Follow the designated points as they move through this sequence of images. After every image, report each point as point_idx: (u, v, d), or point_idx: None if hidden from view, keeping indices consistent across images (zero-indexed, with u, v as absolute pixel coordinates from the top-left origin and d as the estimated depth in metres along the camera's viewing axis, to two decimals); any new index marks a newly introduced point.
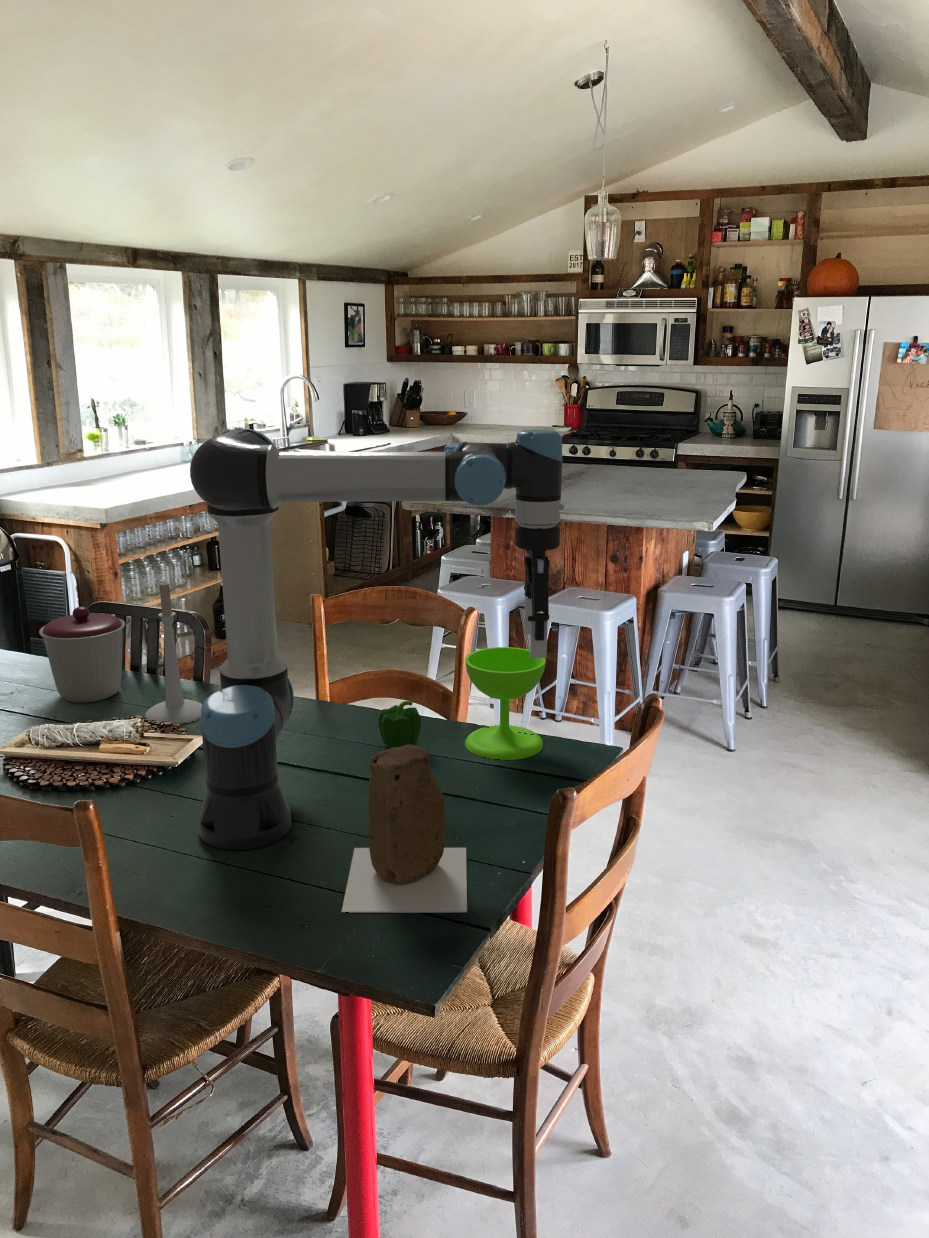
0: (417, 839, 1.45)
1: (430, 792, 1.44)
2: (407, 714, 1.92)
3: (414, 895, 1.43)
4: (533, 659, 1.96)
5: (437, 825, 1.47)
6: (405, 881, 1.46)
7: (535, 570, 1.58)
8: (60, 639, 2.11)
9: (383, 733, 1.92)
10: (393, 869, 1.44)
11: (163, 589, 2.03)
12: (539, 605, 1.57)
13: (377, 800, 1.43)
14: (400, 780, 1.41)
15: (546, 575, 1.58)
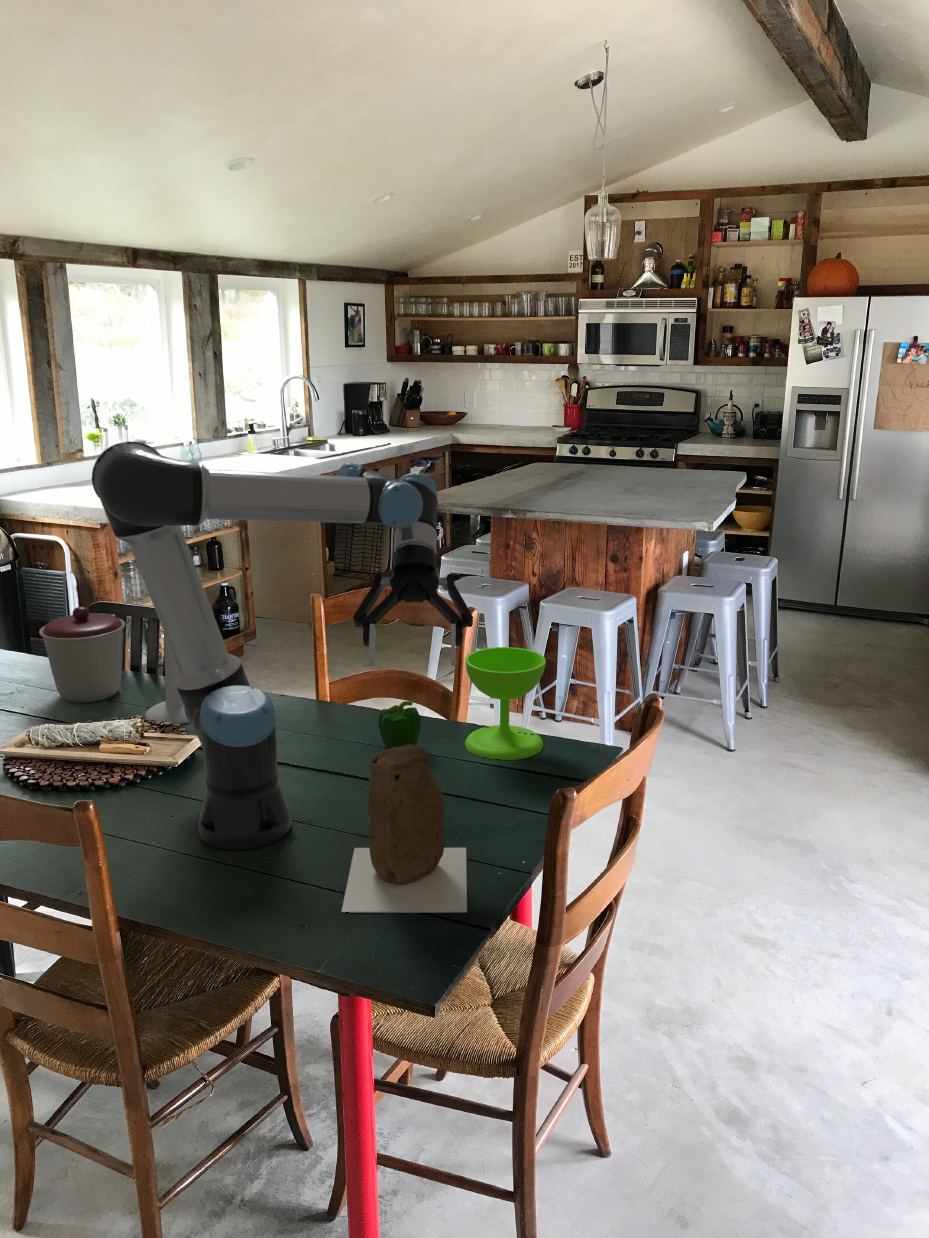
0: (417, 839, 1.45)
1: (430, 792, 1.44)
2: (407, 714, 1.92)
3: (414, 895, 1.43)
4: (533, 659, 1.96)
5: (437, 825, 1.47)
6: (405, 881, 1.46)
7: None
8: (60, 639, 2.11)
9: (383, 733, 1.92)
10: (393, 869, 1.44)
11: None
12: None
13: (377, 800, 1.43)
14: (400, 780, 1.41)
15: None
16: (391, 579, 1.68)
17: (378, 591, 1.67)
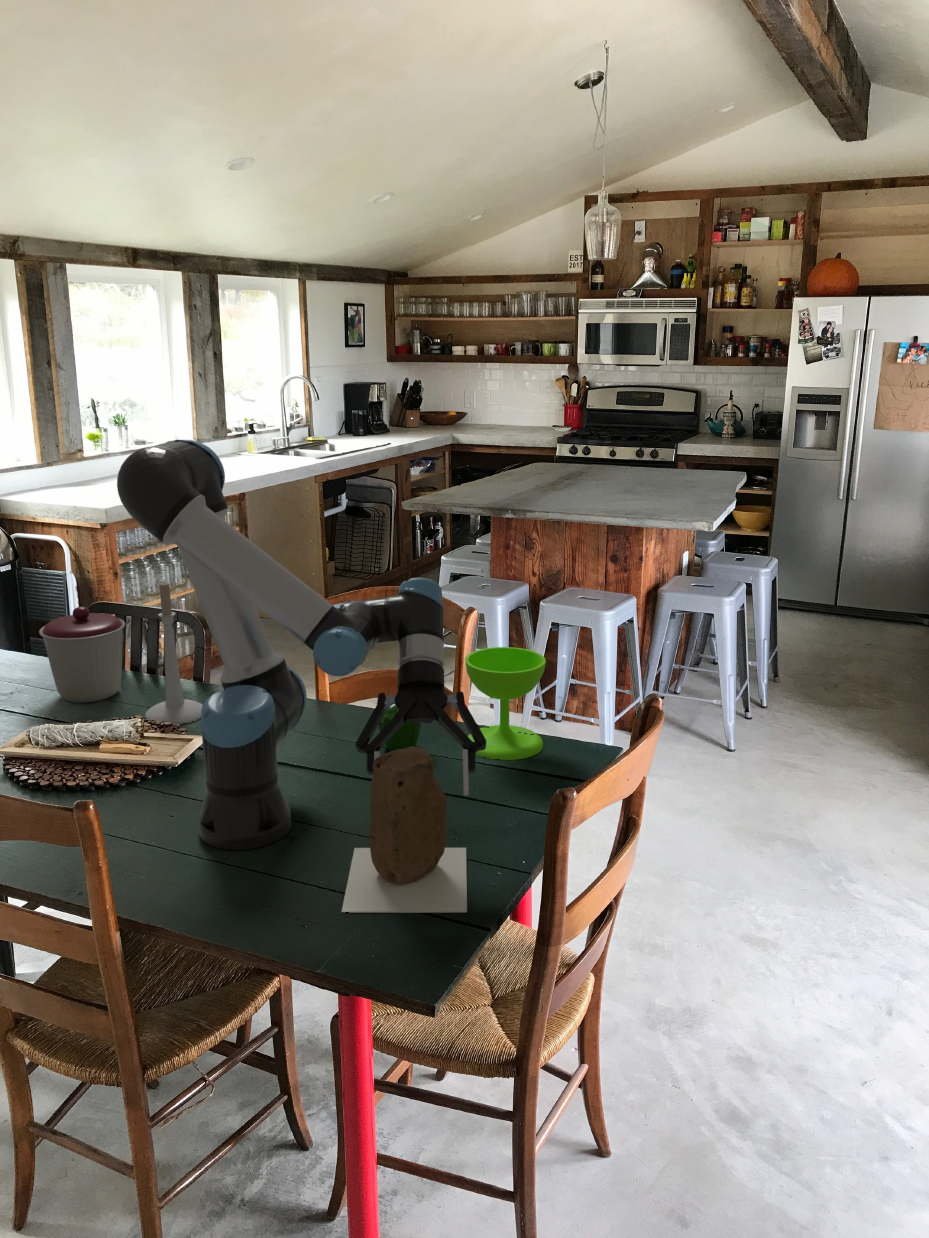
0: (419, 842, 1.44)
1: (433, 796, 1.43)
2: None
3: (414, 895, 1.43)
4: (533, 659, 1.96)
5: (439, 828, 1.46)
6: (405, 881, 1.46)
7: None
8: (60, 639, 2.11)
9: None
10: (394, 871, 1.44)
11: (163, 589, 2.03)
12: None
13: (379, 803, 1.42)
14: (403, 786, 1.39)
15: None
16: (396, 698, 1.55)
17: (382, 712, 1.54)
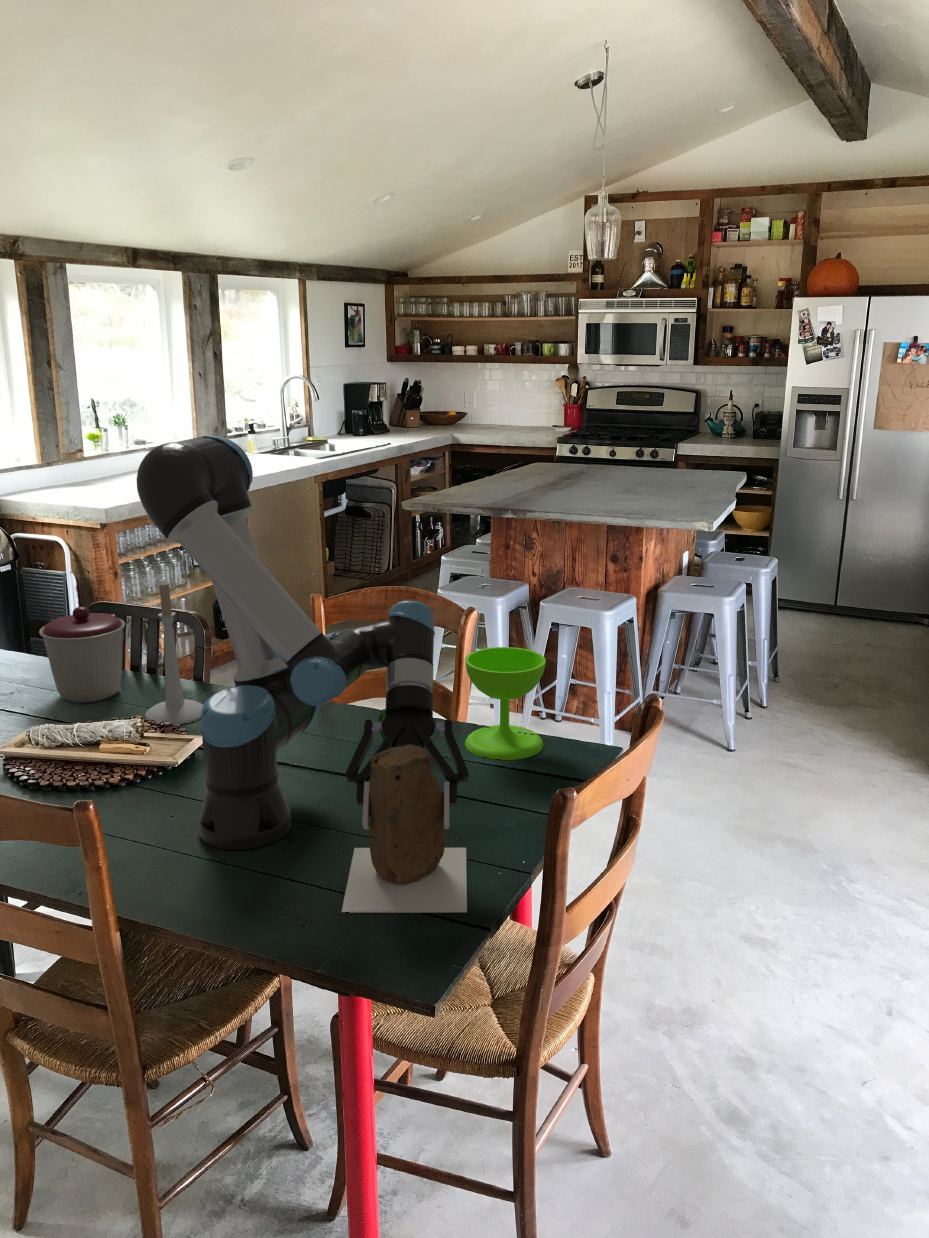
0: (418, 840, 1.45)
1: (431, 792, 1.44)
2: None
3: (414, 895, 1.43)
4: (533, 659, 1.96)
5: (438, 826, 1.46)
6: (405, 881, 1.46)
7: None
8: (60, 639, 2.11)
9: (383, 733, 1.92)
10: (393, 869, 1.44)
11: (162, 589, 2.03)
12: None
13: (378, 800, 1.43)
14: (401, 780, 1.41)
15: None
16: (383, 724, 1.52)
17: (370, 739, 1.51)
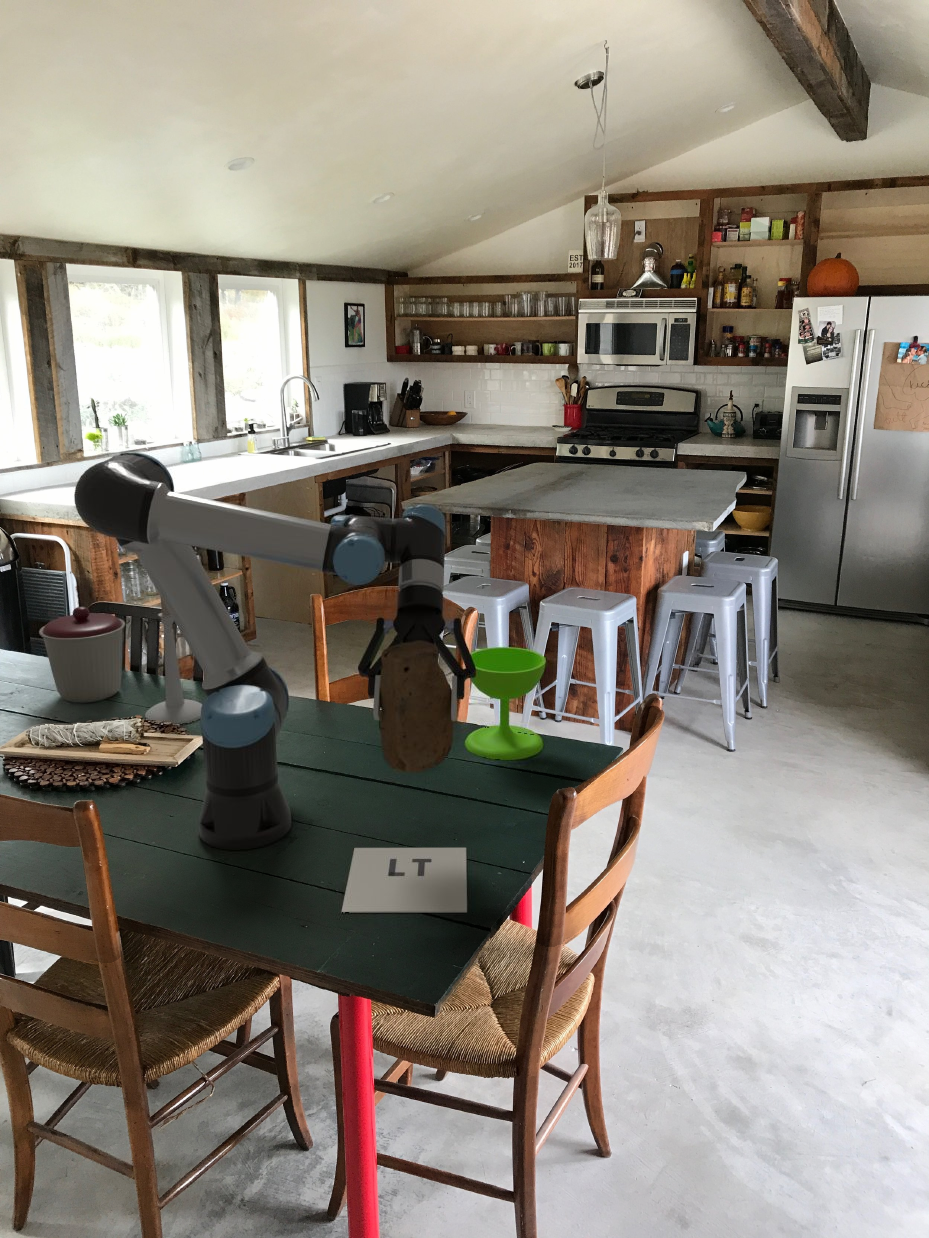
0: (426, 731, 1.51)
1: (439, 685, 1.50)
2: None
3: (414, 895, 1.43)
4: (533, 659, 1.96)
5: (445, 718, 1.52)
6: (414, 770, 1.52)
7: (461, 627, 1.57)
8: (60, 639, 2.11)
9: None
10: (403, 758, 1.51)
11: None
12: None
13: (388, 691, 1.49)
14: (409, 672, 1.47)
15: None
16: (394, 622, 1.57)
17: (382, 636, 1.57)
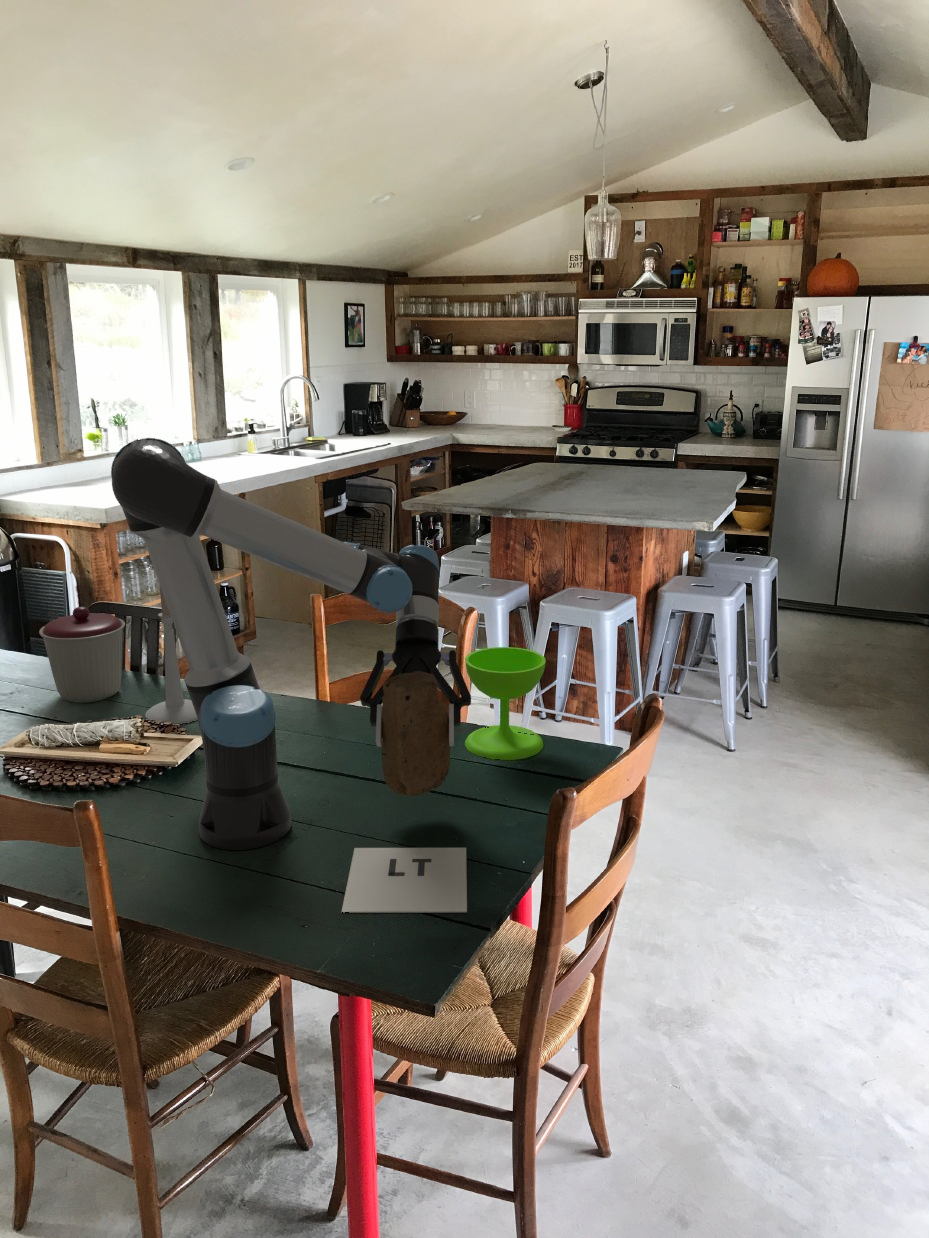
0: (425, 756, 1.61)
1: (437, 712, 1.60)
2: None
3: (414, 895, 1.43)
4: (533, 659, 1.96)
5: (443, 744, 1.62)
6: (414, 793, 1.62)
7: None
8: (60, 639, 2.11)
9: None
10: (404, 782, 1.60)
11: None
12: None
13: (389, 719, 1.59)
14: (410, 700, 1.57)
15: None
16: (393, 654, 1.68)
17: (382, 668, 1.67)
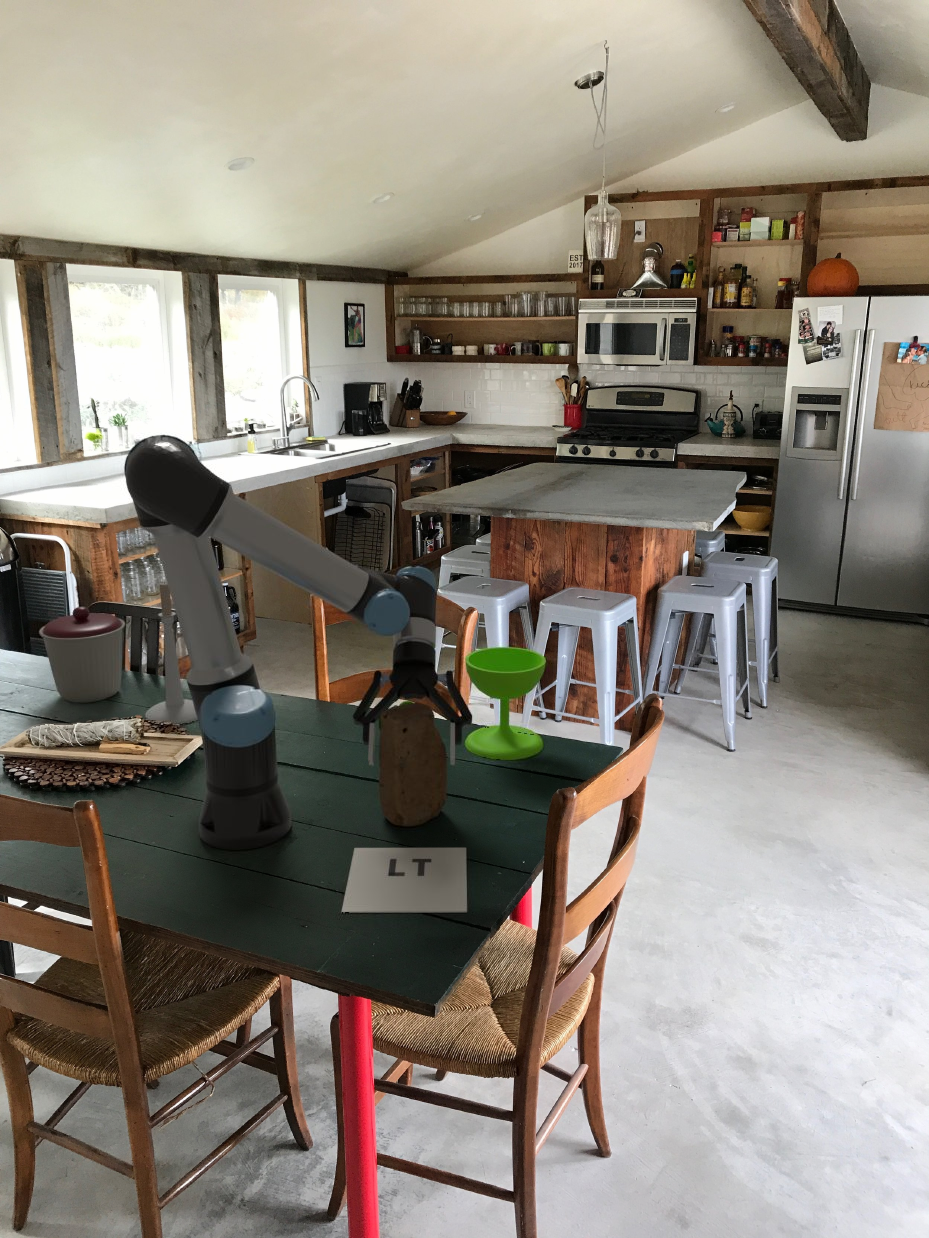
0: (423, 787, 1.63)
1: (434, 744, 1.62)
2: None
3: (414, 895, 1.43)
4: (533, 659, 1.96)
5: (440, 775, 1.64)
6: (411, 824, 1.63)
7: None
8: (60, 639, 2.11)
9: None
10: (401, 813, 1.62)
11: (163, 589, 2.03)
12: None
13: (387, 750, 1.61)
14: (407, 732, 1.58)
15: None
16: (391, 676, 1.69)
17: (378, 688, 1.68)
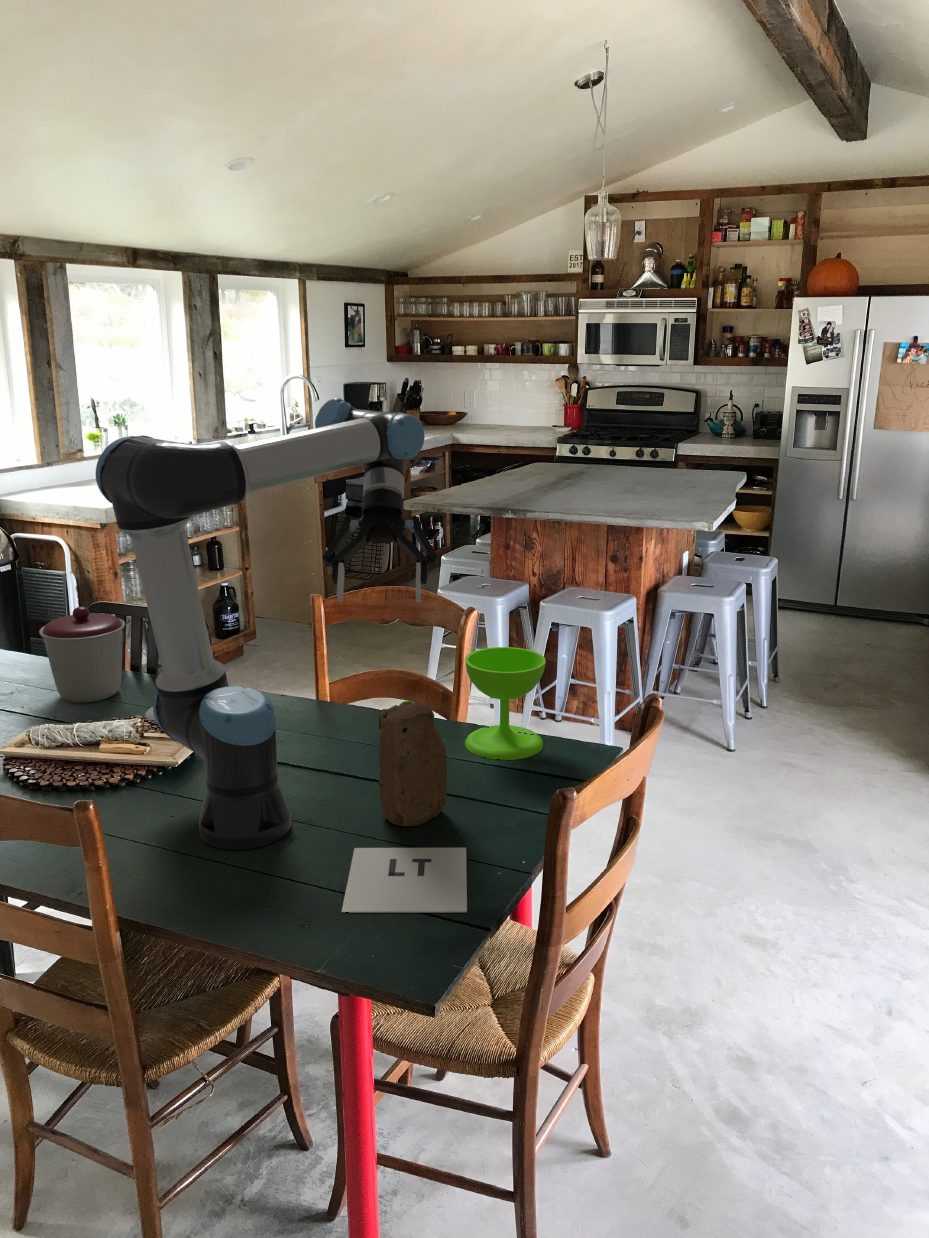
0: (423, 787, 1.63)
1: (434, 744, 1.62)
2: None
3: (414, 895, 1.43)
4: (533, 659, 1.96)
5: (440, 775, 1.64)
6: (411, 824, 1.63)
7: None
8: (60, 639, 2.11)
9: None
10: (401, 813, 1.62)
11: None
12: None
13: (387, 750, 1.61)
14: (407, 732, 1.58)
15: None
16: (360, 521, 1.75)
17: (347, 533, 1.75)
